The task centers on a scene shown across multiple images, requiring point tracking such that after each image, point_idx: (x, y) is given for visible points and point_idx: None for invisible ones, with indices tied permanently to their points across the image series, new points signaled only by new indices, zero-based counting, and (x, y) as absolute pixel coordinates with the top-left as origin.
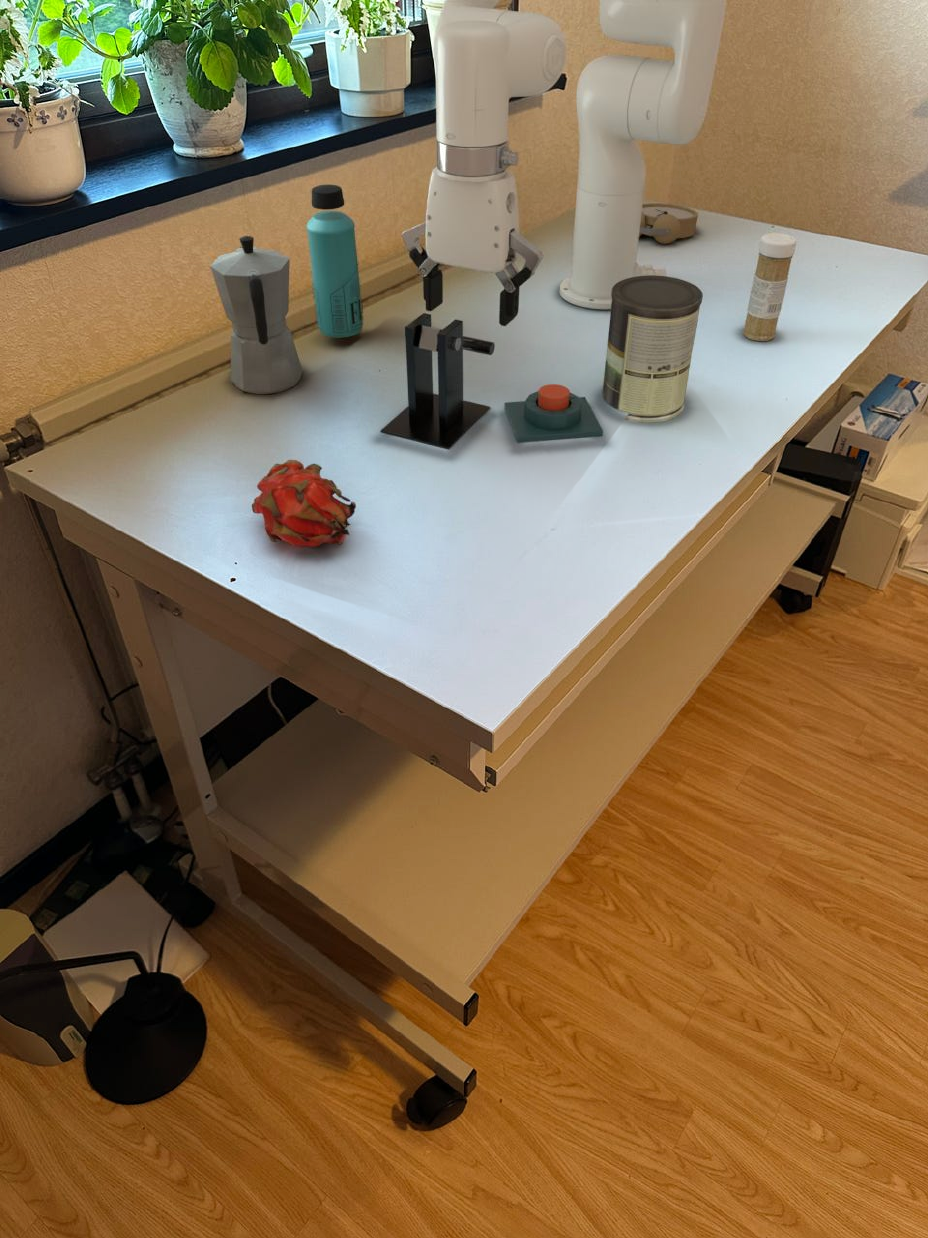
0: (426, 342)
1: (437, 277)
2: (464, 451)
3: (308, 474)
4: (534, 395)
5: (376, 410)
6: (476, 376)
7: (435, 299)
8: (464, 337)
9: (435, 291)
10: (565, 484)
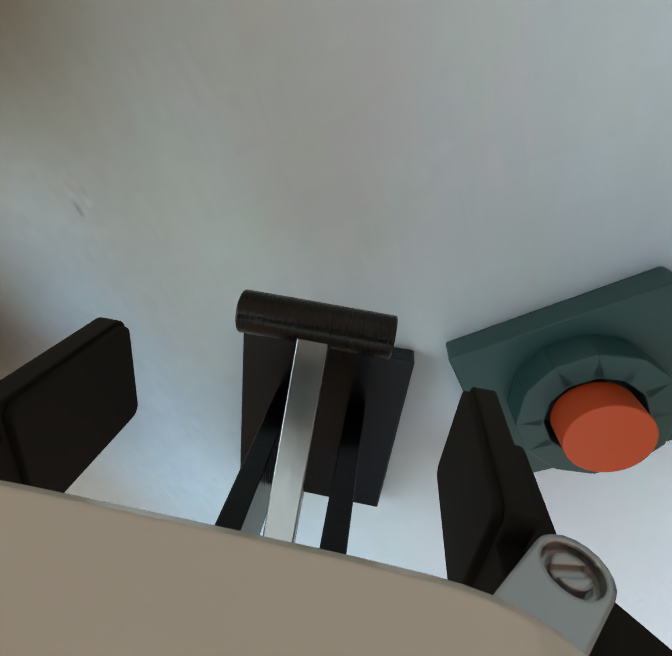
0: None
1: (37, 454)
2: (398, 473)
3: None
4: (539, 397)
5: (183, 380)
6: (319, 158)
7: (113, 403)
8: (286, 332)
9: (88, 426)
10: (599, 530)
